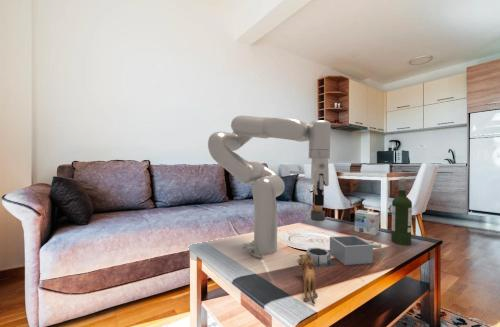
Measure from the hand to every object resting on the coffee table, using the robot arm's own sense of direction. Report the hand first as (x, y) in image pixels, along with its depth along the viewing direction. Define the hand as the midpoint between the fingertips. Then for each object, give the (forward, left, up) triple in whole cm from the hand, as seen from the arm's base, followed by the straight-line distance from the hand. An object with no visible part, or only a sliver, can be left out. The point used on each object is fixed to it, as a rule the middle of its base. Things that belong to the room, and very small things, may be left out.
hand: (318, 203), depth 91 cm
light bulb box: (+43, +33, -23) cm, 59 cm away
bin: (+13, 0, -22) cm, 26 cm away
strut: (0, 0, -6) cm, 6 cm away
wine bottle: (+49, +16, -23) cm, 56 cm away
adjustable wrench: (+24, +13, -23) cm, 36 cm away
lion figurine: (-11, -17, -23) cm, 30 cm away
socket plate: (0, 0, -22) cm, 22 cm away
